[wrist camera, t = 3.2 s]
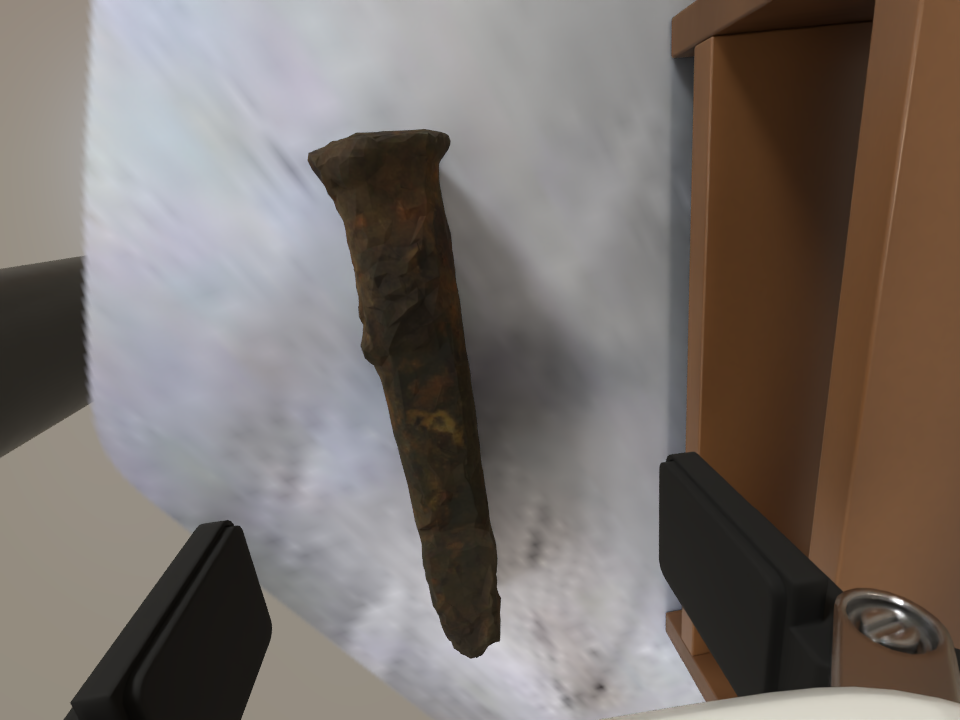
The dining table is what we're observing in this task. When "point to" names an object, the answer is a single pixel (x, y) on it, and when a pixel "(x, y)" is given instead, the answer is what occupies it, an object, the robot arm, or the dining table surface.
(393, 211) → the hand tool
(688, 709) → the robot arm
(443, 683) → the dining table surface
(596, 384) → the dining table surface
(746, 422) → the shelf stand
